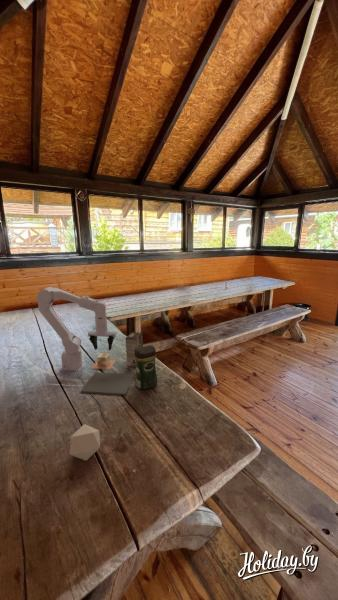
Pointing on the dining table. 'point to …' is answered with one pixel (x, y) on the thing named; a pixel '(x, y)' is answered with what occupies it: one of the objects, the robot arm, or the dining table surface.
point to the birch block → (103, 359)
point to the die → (84, 442)
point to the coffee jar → (145, 367)
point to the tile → (104, 366)
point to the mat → (108, 383)
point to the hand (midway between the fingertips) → (103, 349)
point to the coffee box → (133, 346)
